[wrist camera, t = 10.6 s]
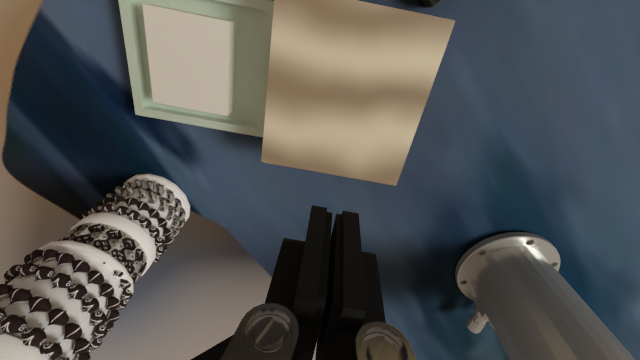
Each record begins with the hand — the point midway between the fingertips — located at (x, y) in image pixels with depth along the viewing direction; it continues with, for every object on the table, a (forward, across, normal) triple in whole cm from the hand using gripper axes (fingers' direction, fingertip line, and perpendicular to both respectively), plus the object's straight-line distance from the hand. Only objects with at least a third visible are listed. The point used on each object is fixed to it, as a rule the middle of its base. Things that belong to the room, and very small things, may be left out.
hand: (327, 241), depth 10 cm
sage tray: (+20, +13, -2) cm, 24 cm away
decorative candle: (+21, +20, +16) cm, 33 cm away
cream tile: (+18, +14, -2) cm, 23 cm away
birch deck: (+21, 0, -2) cm, 21 cm away
